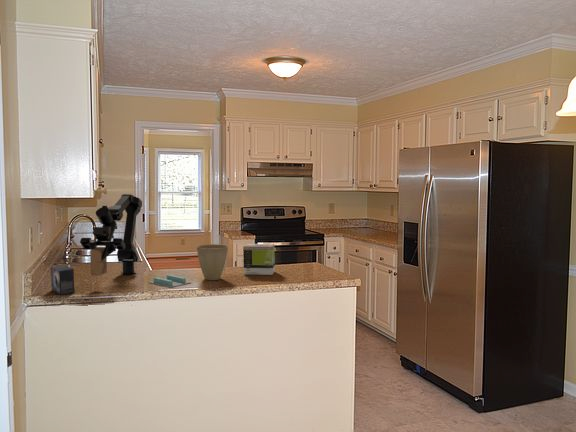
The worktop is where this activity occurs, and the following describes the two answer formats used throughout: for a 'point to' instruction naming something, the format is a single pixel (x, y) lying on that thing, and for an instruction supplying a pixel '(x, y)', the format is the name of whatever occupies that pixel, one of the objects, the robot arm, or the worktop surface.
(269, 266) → the tea box
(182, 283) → the rack
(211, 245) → the plant pot
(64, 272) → the small box
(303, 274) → the worktop surface
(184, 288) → the worktop surface
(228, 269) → the worktop surface
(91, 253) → the brown upright block
